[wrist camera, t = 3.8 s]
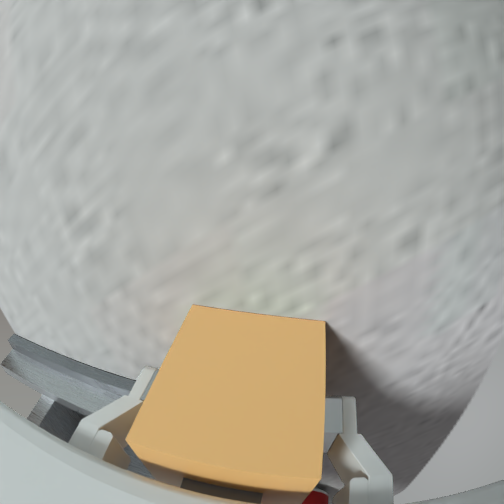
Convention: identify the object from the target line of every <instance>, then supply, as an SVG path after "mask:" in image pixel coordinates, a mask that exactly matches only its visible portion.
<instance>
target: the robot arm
mask: <svg viewBox="0 0 504 504" xmlns="http://www.w3.org/2000/svg"><path fill="white" fill-rule="evenodd" d="M158 371H159V369H157V368H153V367H149V366H145V367H144V368H143V369H142V371H141V373H140V375H139V377H138V378H137V380H136V382H135V384H134V386H133V388H132V390H131V391H130V393H129V395H128V396H127V395H124V396H122V397H121V398H119V399H117V400H116V401H114V402H112V403H110V404H108V405H107V406H105V407H103V408H101V409H100V410H98V411H96V412H94V413H92V414H91V415H89V416H87V417H85V418H83V419H82V420H81V421H80V423H79V425H78V427H77V428H76V430H75V432H74V434H73V435H72V437H71V439H70V441H69V442H68V443H67V442H65V441H63V440H61V439H59V438H57V437H56V436H54V435H52V434H50V433H49V432H47V431H45V430H44V429H42V428H40V427H39V426H37V425H35V424H34V423H32V422H31V421H29V420H27V419H26V418H24V417H23V416H21V415H20V414H18V413H17V412H15V411H14V410H12V409H11V408H10V407H8V406H7V405H5V404H4V403H3V402H1V401H0V504H256V503H249V502H242V501H236V500H231V499H226V498H221V497H216V496H211V495H207V494H202V493H198V492H194V491H190V490H186V489H183V488H179V487H176V486H172V485H169V484H166V483H162V482H159V481H156V480H153V479H150V478H147V477H144V476H141V475H139V474H136V473H133V472H131V471H128V470H127V469H128V466H129V464H130V461H131V459H130V457H129V455H128V454H127V453H126V452H125V450H124V449H123V448H125V447H126V446H127V445H129V444H128V443H127V442H126V440H125V439H126V437H127V435H128V433H129V431H130V429H131V427H132V425H133V422H134V420H135V418H136V416H137V414H138V412H139V410H140V408H141V406H142V404H143V402H144V400H145V398H146V396H147V394H148V392H149V390H150V388H151V385H152V383H153V381H154V379H155V377H156V375H157V373H158ZM323 453H327V455H328V457H329V459H330V461H331V462H332V464H333V466H334V468H335V469H336V471H337V473H338V475H339V476H340V478H341V480H342V482H343V483H344V485H345V486H344V487H343V488H342V489H341V490H340V491H339V492H338V493H337V494H336V495H335V496H334V497H333V502H332V504H393V475H392V474H391V473H390V471H389V470H388V469H387V467H386V466H385V465H384V463H383V462H382V461H381V460H380V458H379V457H378V456H377V454H376V453H375V452H374V450H373V449H372V448H371V446H370V445H369V444H368V442H367V441H366V440H365V439H364V437H363V436H362V435H361V434H357V414H356V399H355V397H344V396H329V395H325V423H324V444H323ZM407 504H504V480H501V481H498V482H495V483H492V484H489V485H486V486H483V487H479V488H476V489H473V490H469V491H465V492H462V493H458V494H454V495H449V496H445V497H441V498H436V499H431V500H426V501H420V502H414V503H407Z"/></svg>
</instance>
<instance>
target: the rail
mask: <svg viewBox="0 0 504 504" xmlns="http://www.w3.org/2000/svg"><path fill="white" fill-rule="evenodd" d="M8 341H9V343H10V345H11V346H12V348H13V349H12V351H11V352H10V353H9V354H8V355H7V357H6V358H5V359H4V360H3V361H2V363H1V364H0V365H1V366H2V368H3V369H4V371H5V372H6V373H7V374H8V375H10V376H12V377H13V378H15V379H17V380H18V381H20V382H22V383H23V384H25V385H27V386H28V387H30V388H32V389H34V390H35V391H37V392H39V393H41V394H42V396H41V398H40V399H39V401H38V402H37V404H36V405H35V407H34V408H33V410H32V411H31V413H30V414H29V416H28V417H27V420H29V421H31V422H32V423H34V424H35V425H37V426H39V427H40V428H42V429H44V430H45V431H47V432H49V433H50V434H52V435H54V436H56V437H57V438H59V439H61V440H63V441H65V442H67V443H68V442H69V441H70V439H71V437H72V435H73V434H74V432H75V430H76V428H77V427H78V425H79V423H80V421H81V420H82V419H83V418H85V417H87V416H89V415H91V414H92V413H94V412H96V411H98V410H100V409H101V408H103V407H105V406H107V405H108V404H110V403H112V402H114V401H116V400H117V399H119V398H121V397H122V396H124V395H127V396H128V395H129V393H130V391H131V390H132V388H133V386H134V384H135V382H136V381H134V380H130V379H127V378H124V377H121V376H118V375H114V374H111V373H108V372H105V371H102V370H100V369H97V368H94V367H91V366H88V365H86V364H83V363H80V362H78V361H75V360H72V359H70V358H67V357H65V356H62V355H60V354H58V353H55V352H53V351H50V350H48V349H46V348H43V347H41V346H39V345H37V344H35V343H32V342H30V341H28V340H26V339H24V338H22V337H20V336H18V335H16V334H13V335H12V336H11V338H10V339H9V340H8ZM123 449H124V450H125V452H126V453H127V454H128V455H129V457H130V459H131V461H130V464H129V466H128V469H127V470H128V471H131V472H133V473H136V474H139V475H141V476H144V477H147V478H150V479H153V480H156V479H155V478H154V477H153V475H152V474H151V473H150V472H149V471H148V469H147V468H146V467H145V466H144V464H143V463H142V462H141V460H140V459H139V458H138V456H137V455H136V454H135V452H134V451H133V450H132V448H131V447H130V446H129V445H127V446H126V447H125V448H123ZM156 481H157V480H156Z"/></svg>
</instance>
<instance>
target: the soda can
mask: <svg viewBox="0 0 504 504" xmlns="http://www.w3.org/2000/svg"><path fill="white" fill-rule="evenodd" d="M328 497H329V495H328V493H327V492H325V491H323V490H320V489H319V488H318V487H316V486H315V487H314V489H313V490H312V491H311V493H310V494H309V495H308V496H307V497H306V499H305V500H304V501H303V502H302V504H328Z"/></svg>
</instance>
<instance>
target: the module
mask: <svg viewBox="0 0 504 504" xmlns="http://www.w3.org/2000/svg"><path fill="white" fill-rule="evenodd" d="M325 385H326V337H325V321H317V320H307V319H297V318H288V317H279V316H271V315H263V314H255V313H247V312H239V311H232V310H225V309H218V308H211V307H205V306H198V305H192V307H191V309H190V311H189V312H188V314H187V316H186V318H185V320H184V322H183V324H182V326H181V328H180V330H179V332H178V334H177V336H176V338H175V340H174V342H173V344H172V346H171V348H170V349H169V351H168V353H167V355H166V357H165V359H164V361H163V363H162V365H161V367H160V369H159V371H158V373H157V375H156V377H155V379H154V381H153V383H152V385H151V388H150V390H149V392H148V394H147V396H146V398H145V400H144V402H143V404H142V406H141V408H140V410H139V412H138V414H137V416H136V418H135V420H134V422H133V425H132V427H131V429H130V431H129V433H128V435H127V437H126V439H125V440H126V442H127V443H128V444H129V446H130V447H131V448H132V450H133V451H134V452H135V454H136V455H137V456H138V458H139V459H140V460H141V462H142V463H143V464H144V466H145V467H146V468H147V469H148V471H149V472H150V473H151V474H152V475H153V477H154V478H155V479H156V480H157V481H159V482H162V483H166V484H169V485H172V486H176V487H179V488H183V489H186V490H190V491H194V492H198V493H202V494H207V495H211V496H216V497H221V498H226V499H231V500H236V501H242V502H249V503H256V504H302V502H303V501H304V500H305V499H306V497H307V496H308V495H309V494H310V493H311V491H312V490H313V489H314V487H315V486H316V485H317V484H318V482H319V481H320V480H321V475H322V461H323V444H324V423H325Z"/></svg>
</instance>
